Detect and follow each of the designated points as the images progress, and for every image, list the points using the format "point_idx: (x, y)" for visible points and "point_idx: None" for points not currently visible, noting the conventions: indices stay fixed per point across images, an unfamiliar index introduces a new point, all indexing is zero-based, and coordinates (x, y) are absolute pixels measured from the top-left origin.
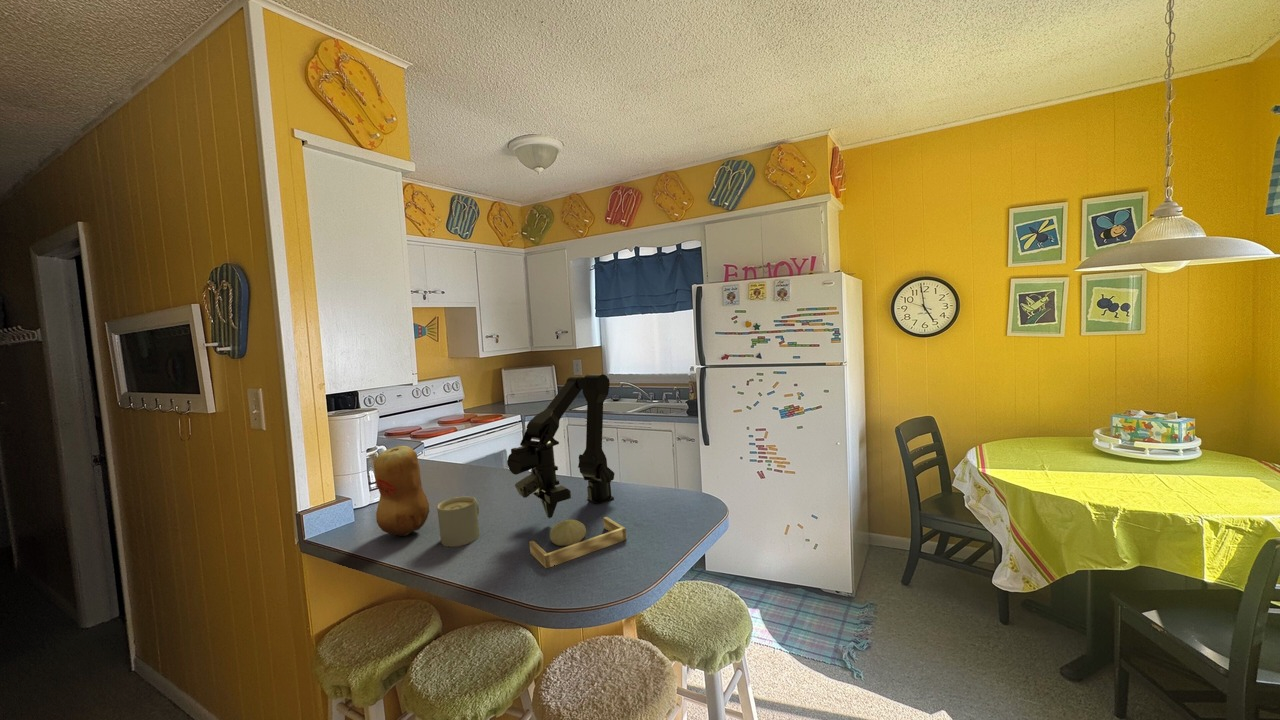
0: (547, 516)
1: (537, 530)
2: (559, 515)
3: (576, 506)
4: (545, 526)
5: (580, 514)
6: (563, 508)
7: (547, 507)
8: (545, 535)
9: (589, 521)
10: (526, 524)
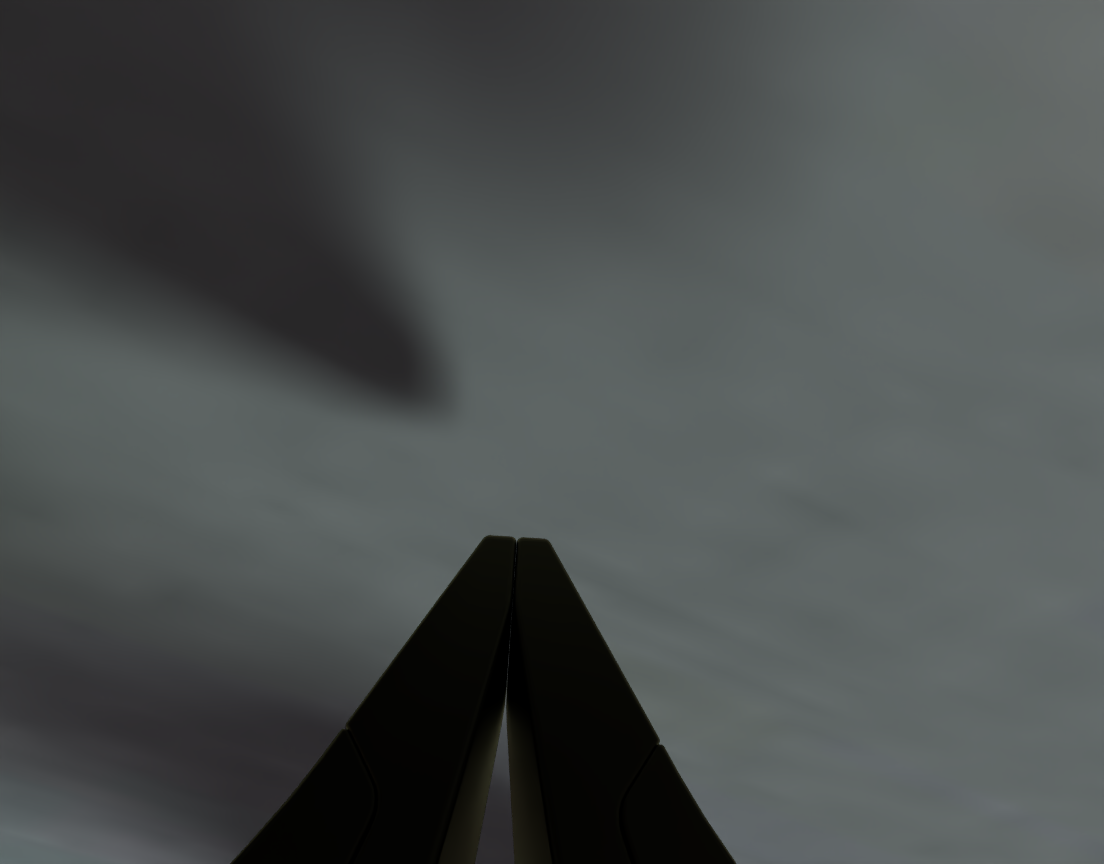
0: (530, 549)
1: (425, 164)
2: (703, 675)
3: (751, 857)
4: (492, 373)
5: (496, 802)
6: (855, 779)
7: (313, 776)
8: (37, 161)
9: (212, 777)
10: (948, 144)
